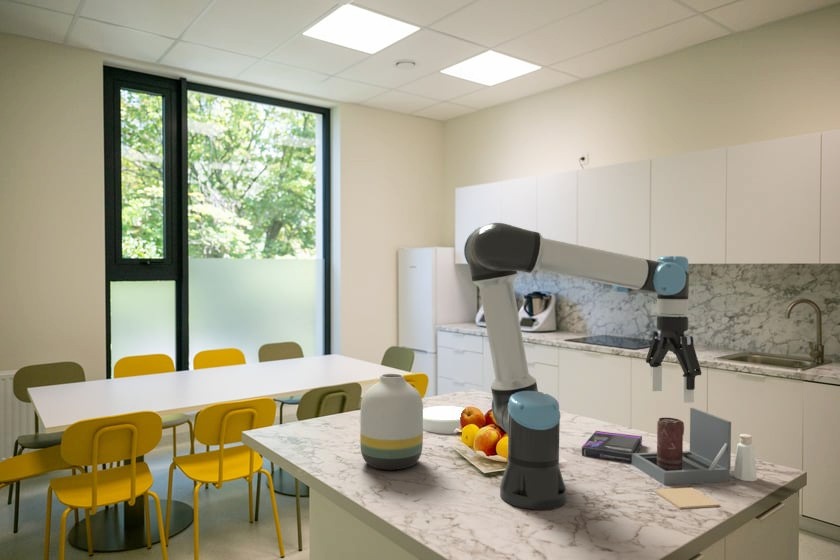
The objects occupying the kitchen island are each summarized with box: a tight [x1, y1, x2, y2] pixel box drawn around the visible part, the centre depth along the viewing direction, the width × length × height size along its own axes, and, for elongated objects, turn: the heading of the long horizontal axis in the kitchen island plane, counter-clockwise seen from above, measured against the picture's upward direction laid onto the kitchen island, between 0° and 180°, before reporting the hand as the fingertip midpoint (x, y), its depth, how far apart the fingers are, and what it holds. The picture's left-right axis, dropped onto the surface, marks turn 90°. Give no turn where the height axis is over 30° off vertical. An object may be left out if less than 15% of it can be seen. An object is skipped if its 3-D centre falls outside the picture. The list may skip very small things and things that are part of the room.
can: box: [656, 417, 685, 471], centre depth 147 cm, size 6×6×14 cm
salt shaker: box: [733, 433, 758, 482], centre depth 144 cm, size 5×5×11 cm
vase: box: [359, 373, 424, 471], centre depth 152 cm, size 17×17×24 cm
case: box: [631, 407, 732, 486], centre depth 147 cm, size 18×15×15 cm
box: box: [581, 430, 643, 465], centre depth 166 cm, size 14×4×20 cm
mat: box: [653, 487, 721, 510], centre depth 130 cm, size 10×10×1 cm
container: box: [423, 405, 465, 435], centre depth 192 cm, size 20×20×5 cm
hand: (671, 396), depth 147 cm, fingers open, 13 cm apart
